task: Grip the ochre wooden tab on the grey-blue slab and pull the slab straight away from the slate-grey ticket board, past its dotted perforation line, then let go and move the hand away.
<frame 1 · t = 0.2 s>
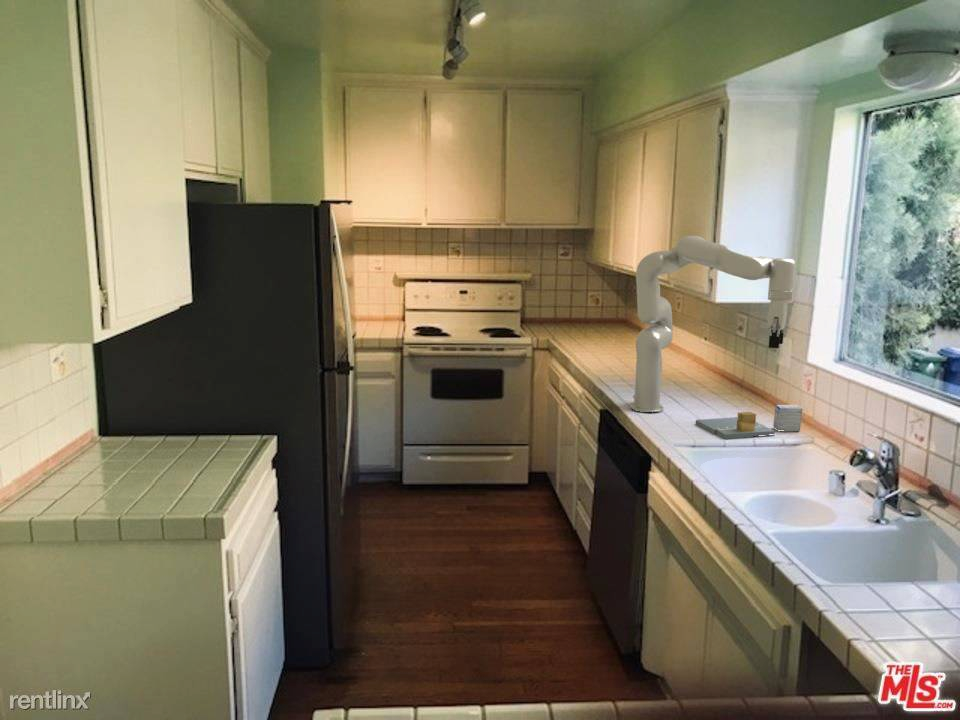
hand: (775, 345, 251), 30 cm above the table, tool pointing down, fingers open, 9 cm apart
ticket board: (729, 427, 261), on the table
medicine box: (786, 430, 259), on the table
grey-blue slab: (746, 424, 252), point 4 cm above the table, slide at 0.0 cm
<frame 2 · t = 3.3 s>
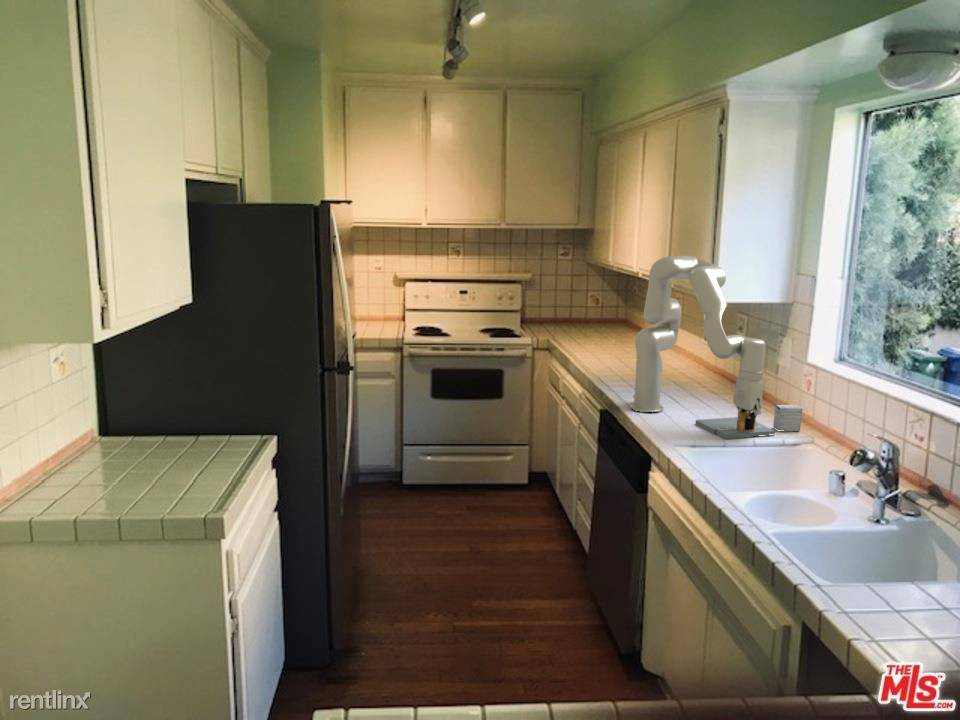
hand: (745, 427, 252), 3 cm above the table, tool pointing down, fingers closed on grey-blue slab, 3 cm apart
grey-blue slab: (746, 424, 252), point 4 cm above the table, slide at 0.0 cm, touching gripper
everything else where it was.
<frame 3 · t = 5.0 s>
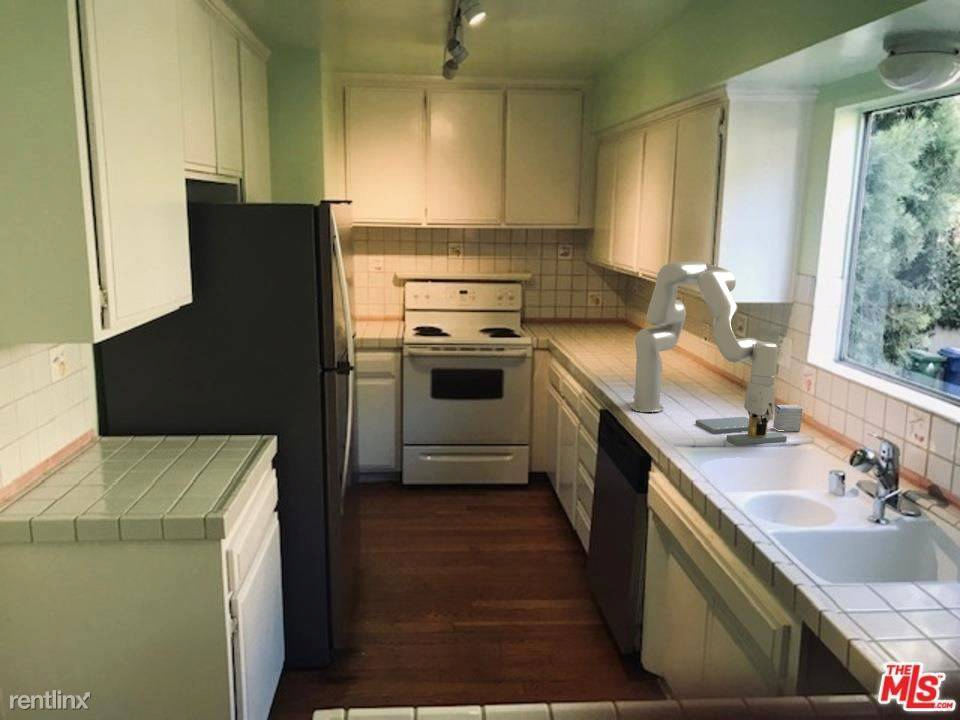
hand: (757, 432, 246), 3 cm above the table, tool pointing down, fingers closed on grey-blue slab, 3 cm apart
grey-blue slab: (757, 429, 246), point 4 cm above the table, slide at 6.4 cm, touching gripper
everything else where it was.
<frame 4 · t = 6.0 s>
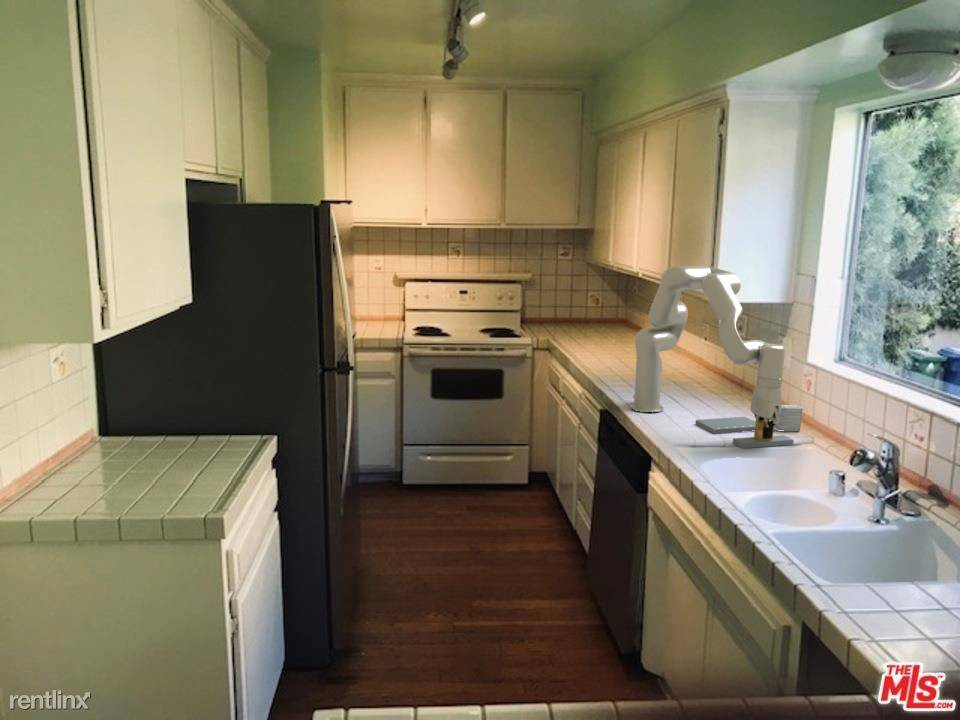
hand: (763, 436, 243), 3 cm above the table, tool pointing down, fingers closed on grey-blue slab, 3 cm apart
grey-blue slab: (764, 432, 243), point 4 cm above the table, slide at 9.9 cm, touching gripper
everything else where it was.
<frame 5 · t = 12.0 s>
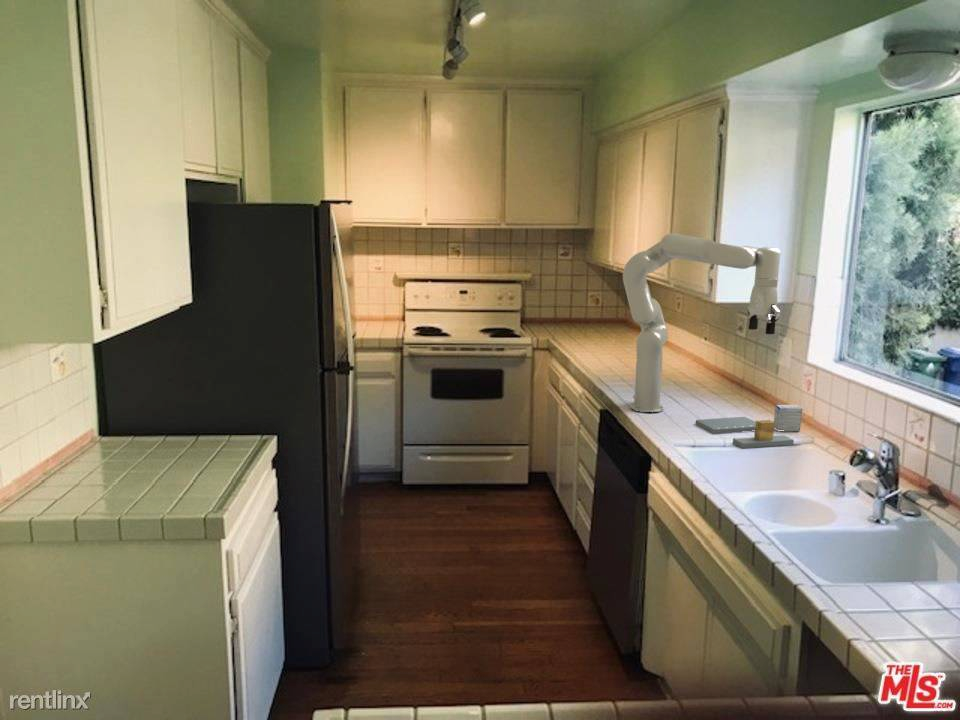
hand: (761, 331, 261), 33 cm above the table, tool pointing down, fingers open, 9 cm apart
grey-blue slab: (764, 432, 243), point 4 cm above the table, slide at 10.0 cm
everything else where it was.
at the end: grey-blue slab slide at 10.0 cm; the gripper is holding nothing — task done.
